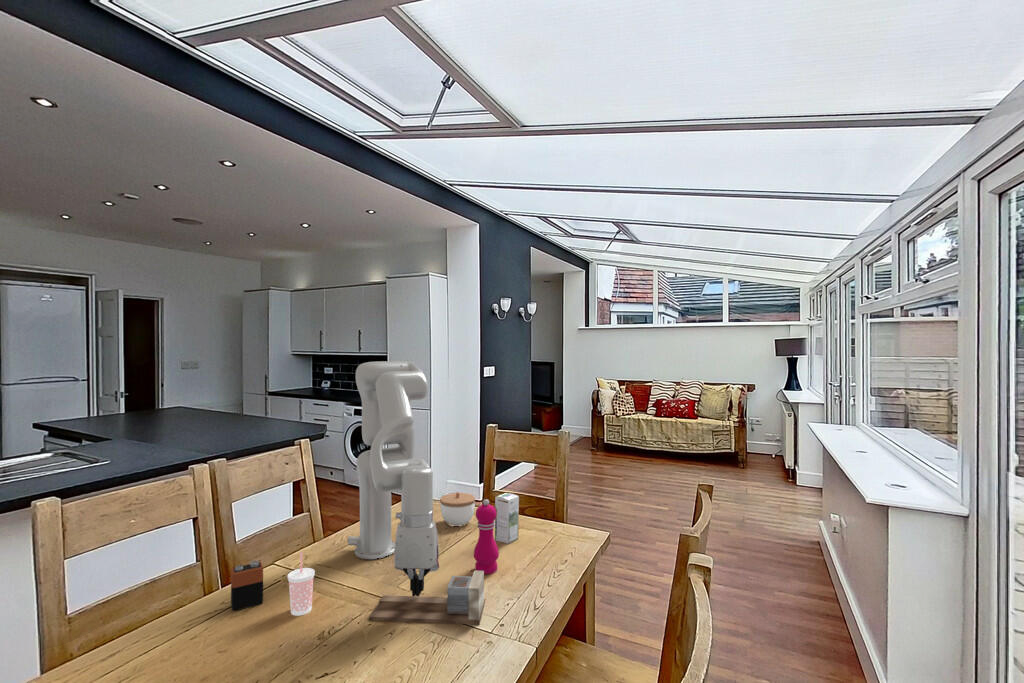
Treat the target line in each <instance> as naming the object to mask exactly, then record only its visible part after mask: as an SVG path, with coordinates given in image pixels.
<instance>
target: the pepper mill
mask: <svg viewBox="0 0 1024 683" xmlns="http://www.w3.org/2000/svg"><path fill="white" fill-rule="evenodd" d="M496 516H497V512H496V509H495V505H494V506H493V505H492V504H490V501H489V499H483V501H482V504H481V505H480V506H477V508H476V512H475V518H476V521H477V529H478V531H479V532H478V540H477V541H476V542H477V543H476V544H475V547H474V550H473V558H474V560H475V561H476V562H475V563H474V564H475V567H474V568H475V570H474V571H484V575H491V574H494V573H495V572H497V571H498V562H497V560H498V559H499V557H500V556H499V555H500V552H499V547H498V545H497V542H496V540H495V535H494V529H495V518H496Z"/></svg>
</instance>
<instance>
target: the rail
mask: <svg viewBox="0 0 1024 683" xmlns="http://www.w3.org/2000/svg"><path fill="white" fill-rule="evenodd" d="M485 604H486V599H485V574H484V571H476V570H474V571H473V573H472V579H471V582H470V585H469V614H447V596H445V597H444V596H443V597H442V596H420V595H419V596H416V595H415V596H412V595H391V594H390V595H389V594H388V595H387V594H384V595H381V597H380V598H379V600H378V603H377V604H376V605H375V607H374V608H373V610H372V612H371V613H370V615H369V616H368V618H369V619H368V620H369V621H380V622H381V621H382V622H383V621H384V622H385V621H386V622H408V623H430V624H433V623H435V624H455V625H457V624H459V625H480V624H481V620H482V616H483V612H484V608H485Z"/></svg>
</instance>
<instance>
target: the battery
mask: <svg viewBox="0 0 1024 683" xmlns="http://www.w3.org/2000/svg"><path fill="white" fill-rule="evenodd" d="M230 604H231V609H232V611H239V610H243V609H247V608H250V607H254V606H258V605H262V604H264V566H263V564H262V562H261V561H259V560H253V561H250V562H249V564H248V563H247V564H244V565H243V564H238V565H236V566H234V567H232V568H231V570H230Z"/></svg>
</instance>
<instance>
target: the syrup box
mask: <svg viewBox="0 0 1024 683" xmlns="http://www.w3.org/2000/svg"><path fill="white" fill-rule="evenodd" d="M494 501H495V502H494V508H495V509H496V512H497V516H496V518H495V520H494V522H495V527H494V539H495V542H496V541H497V542H501V543H504V544H511V543H513V542H514V541H516V540H518V539H519V524H520V520H519V518H520V515H519V512H520V510H519V507H520V503H519V502H520V496H519V495H518V494H517V495H516V494H514V493H509V492H505V493H502V494H499V495H497V496H495V499H494Z"/></svg>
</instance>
